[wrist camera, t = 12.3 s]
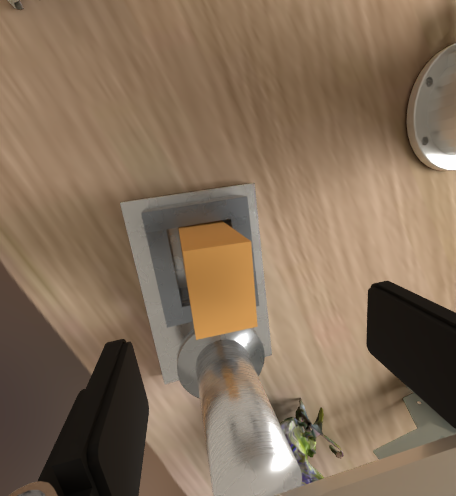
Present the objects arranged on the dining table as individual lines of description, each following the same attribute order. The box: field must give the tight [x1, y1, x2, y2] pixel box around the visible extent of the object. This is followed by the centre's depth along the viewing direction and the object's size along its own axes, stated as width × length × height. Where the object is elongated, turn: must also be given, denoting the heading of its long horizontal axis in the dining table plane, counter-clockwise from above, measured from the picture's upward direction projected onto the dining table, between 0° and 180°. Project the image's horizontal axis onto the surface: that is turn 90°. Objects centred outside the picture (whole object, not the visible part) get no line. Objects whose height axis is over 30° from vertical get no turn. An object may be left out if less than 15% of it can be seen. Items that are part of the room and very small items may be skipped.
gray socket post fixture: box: [120, 183, 302, 496], centre depth 19 cm, size 19×12×16 cm, turn 7°
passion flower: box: [280, 398, 343, 486], centre depth 29 cm, size 11×11×12 cm
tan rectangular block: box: [178, 220, 258, 340], centre depth 19 cm, size 5×4×11 cm
